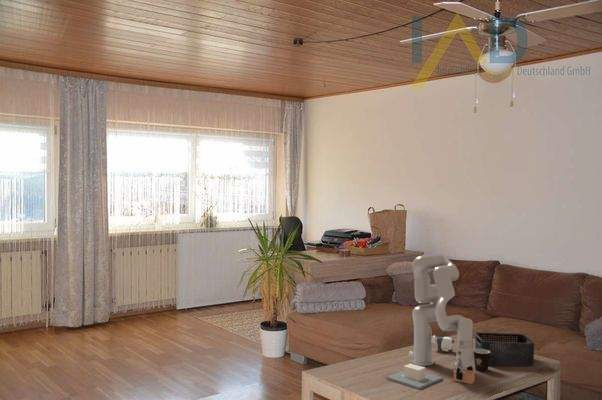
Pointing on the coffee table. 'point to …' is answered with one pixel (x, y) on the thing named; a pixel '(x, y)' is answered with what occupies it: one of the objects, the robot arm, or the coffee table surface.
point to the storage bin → (507, 348)
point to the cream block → (414, 371)
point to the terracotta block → (466, 376)
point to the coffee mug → (482, 359)
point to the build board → (414, 380)
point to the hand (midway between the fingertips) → (464, 377)
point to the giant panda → (443, 343)
